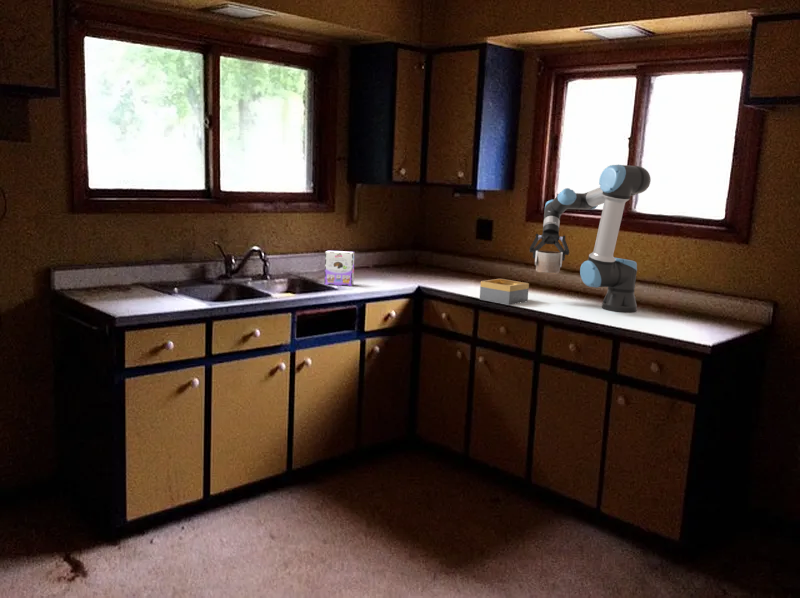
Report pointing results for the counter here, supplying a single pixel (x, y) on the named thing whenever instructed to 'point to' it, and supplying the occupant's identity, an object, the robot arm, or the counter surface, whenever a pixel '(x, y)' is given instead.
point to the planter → (548, 262)
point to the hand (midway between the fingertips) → (548, 264)
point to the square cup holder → (504, 291)
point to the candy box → (339, 268)
